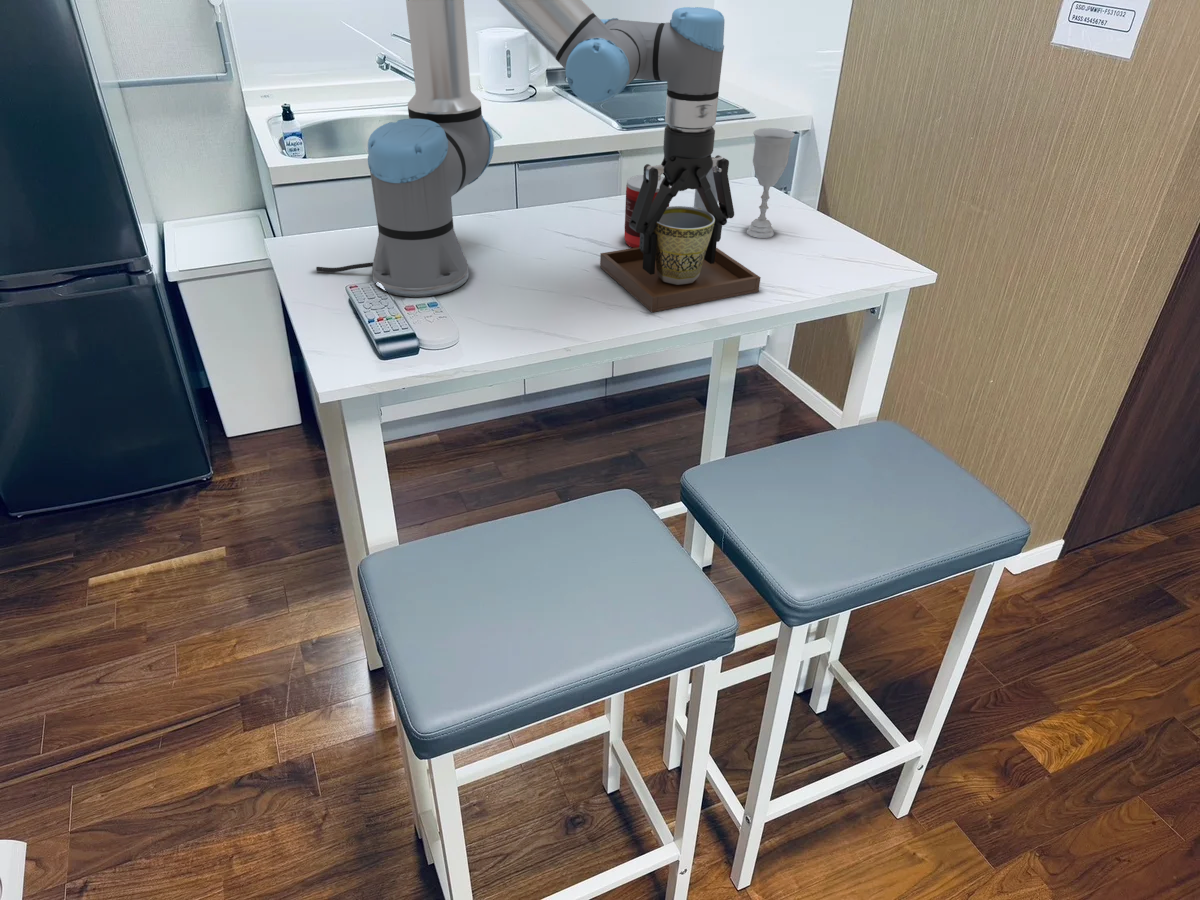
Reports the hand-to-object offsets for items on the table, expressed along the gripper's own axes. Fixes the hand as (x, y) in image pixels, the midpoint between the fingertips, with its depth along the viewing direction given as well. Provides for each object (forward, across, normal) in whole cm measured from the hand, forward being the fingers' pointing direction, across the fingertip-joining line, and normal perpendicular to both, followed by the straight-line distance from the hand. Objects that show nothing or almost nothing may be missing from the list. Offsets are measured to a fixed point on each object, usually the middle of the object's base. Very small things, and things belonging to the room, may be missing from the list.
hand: (678, 265), depth 137 cm
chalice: (+3, +25, +12) cm, 28 cm away
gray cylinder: (+2, +20, +25) cm, 32 cm away
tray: (+2, 0, 0) cm, 2 cm away
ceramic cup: (+2, +1, 0) cm, 2 cm away
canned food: (+2, +2, +16) cm, 17 cm away
